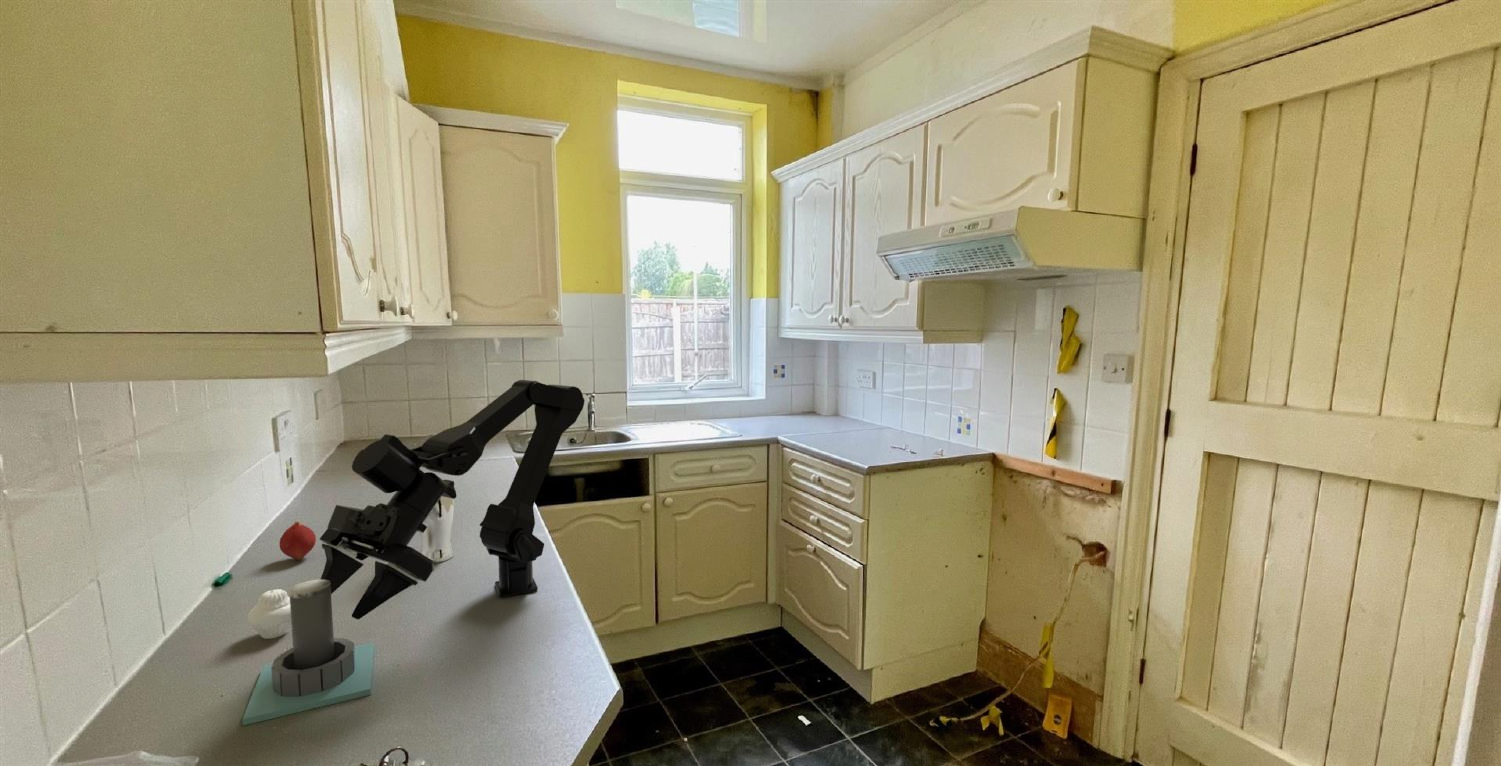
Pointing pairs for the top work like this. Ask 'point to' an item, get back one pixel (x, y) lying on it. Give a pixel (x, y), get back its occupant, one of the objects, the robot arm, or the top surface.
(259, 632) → the muffin
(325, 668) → the socket
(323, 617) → the plug
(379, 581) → the robot arm
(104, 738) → the top surface
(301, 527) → the onion
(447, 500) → the beer glass
